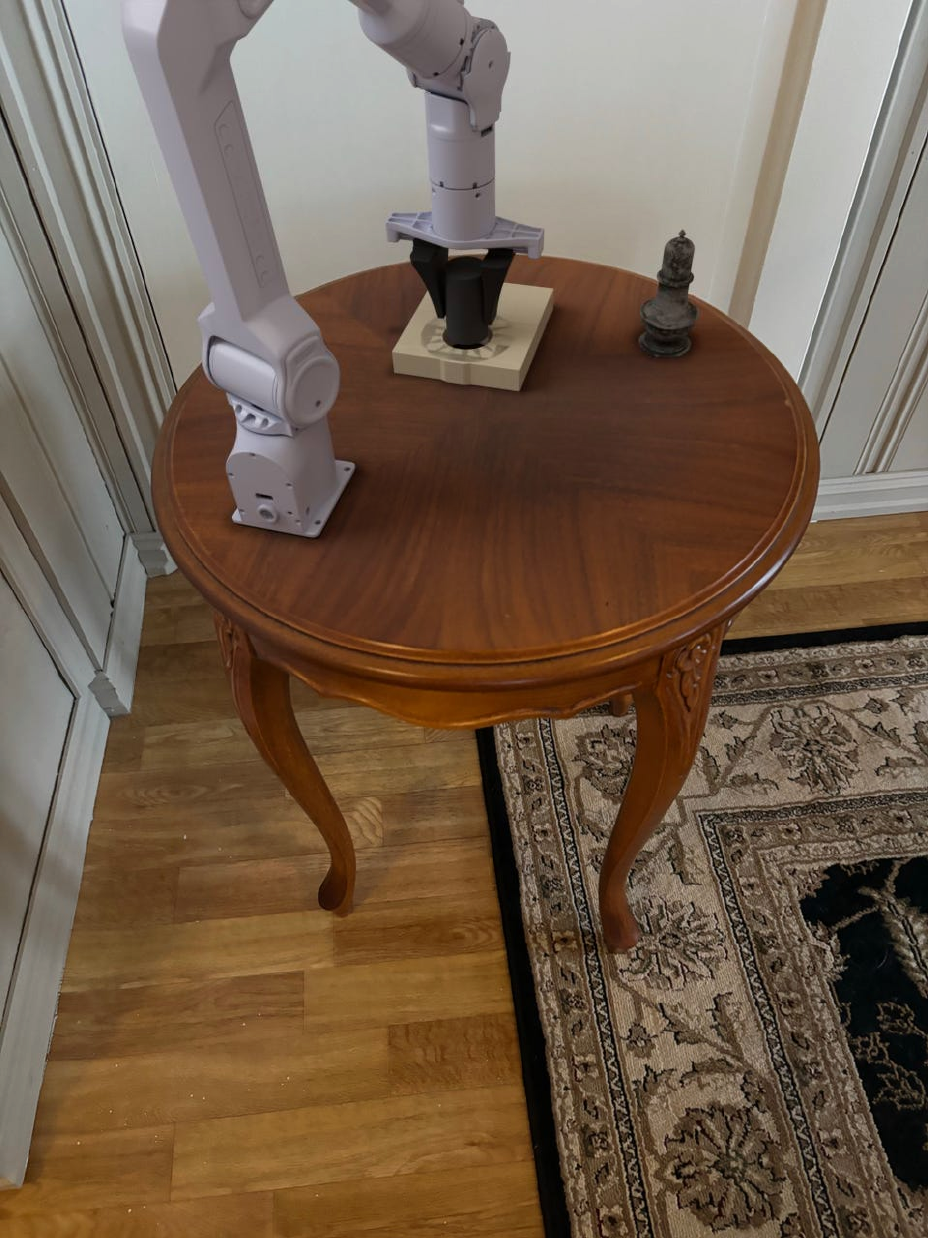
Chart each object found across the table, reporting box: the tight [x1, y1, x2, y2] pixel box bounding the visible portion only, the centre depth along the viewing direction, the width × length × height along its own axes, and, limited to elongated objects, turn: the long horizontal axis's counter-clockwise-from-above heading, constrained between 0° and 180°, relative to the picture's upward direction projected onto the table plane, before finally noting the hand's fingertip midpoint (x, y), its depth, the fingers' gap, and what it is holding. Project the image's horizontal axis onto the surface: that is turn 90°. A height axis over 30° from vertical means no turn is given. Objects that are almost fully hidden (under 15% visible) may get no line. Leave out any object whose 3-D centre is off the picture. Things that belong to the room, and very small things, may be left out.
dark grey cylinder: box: [443, 255, 489, 346], centre depth 86 cm, size 4×4×7 cm
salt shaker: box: [638, 229, 700, 359], centre depth 87 cm, size 6×6×12 cm
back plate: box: [391, 282, 555, 392], centre depth 92 cm, size 15×13×2 cm
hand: (466, 316), depth 87 cm, fingers closed on dark grey cylinder, 4 cm apart
